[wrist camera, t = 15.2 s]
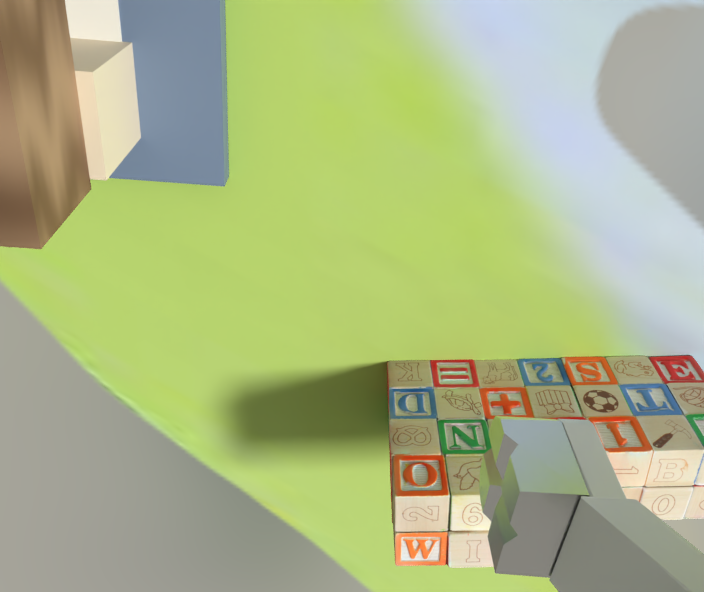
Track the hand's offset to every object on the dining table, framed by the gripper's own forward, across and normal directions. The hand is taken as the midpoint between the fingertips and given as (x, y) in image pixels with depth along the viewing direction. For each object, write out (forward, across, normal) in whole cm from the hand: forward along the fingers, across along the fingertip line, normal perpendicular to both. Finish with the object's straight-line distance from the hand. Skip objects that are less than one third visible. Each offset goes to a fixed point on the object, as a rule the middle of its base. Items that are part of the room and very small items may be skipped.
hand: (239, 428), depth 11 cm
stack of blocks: (+30, -17, +23) cm, 41 cm away
